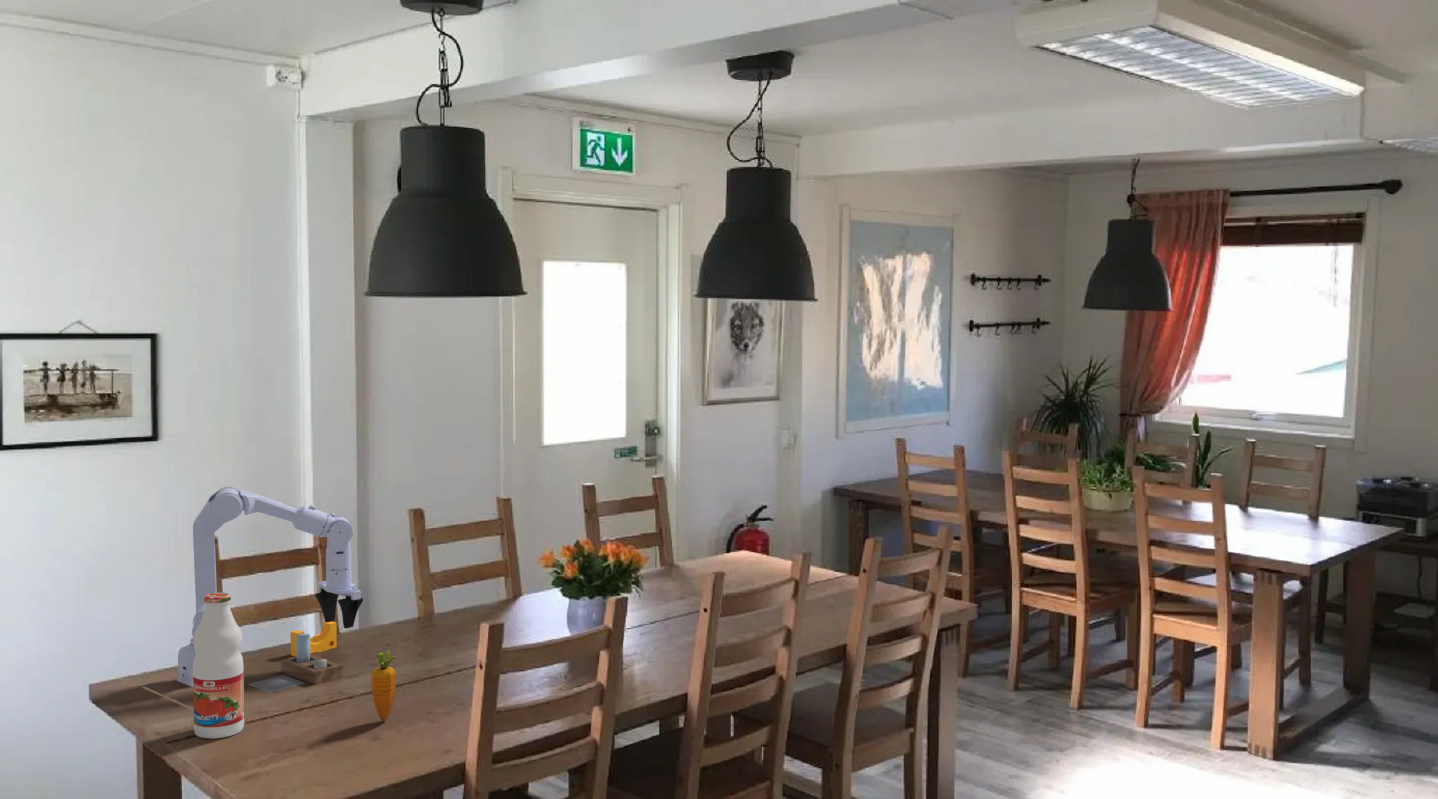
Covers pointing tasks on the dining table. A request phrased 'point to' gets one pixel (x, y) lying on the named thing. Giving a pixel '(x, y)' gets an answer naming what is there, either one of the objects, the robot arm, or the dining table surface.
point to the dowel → (303, 648)
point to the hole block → (312, 669)
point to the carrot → (383, 686)
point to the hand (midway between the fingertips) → (339, 624)
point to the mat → (276, 684)
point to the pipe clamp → (318, 639)
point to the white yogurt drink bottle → (218, 671)
